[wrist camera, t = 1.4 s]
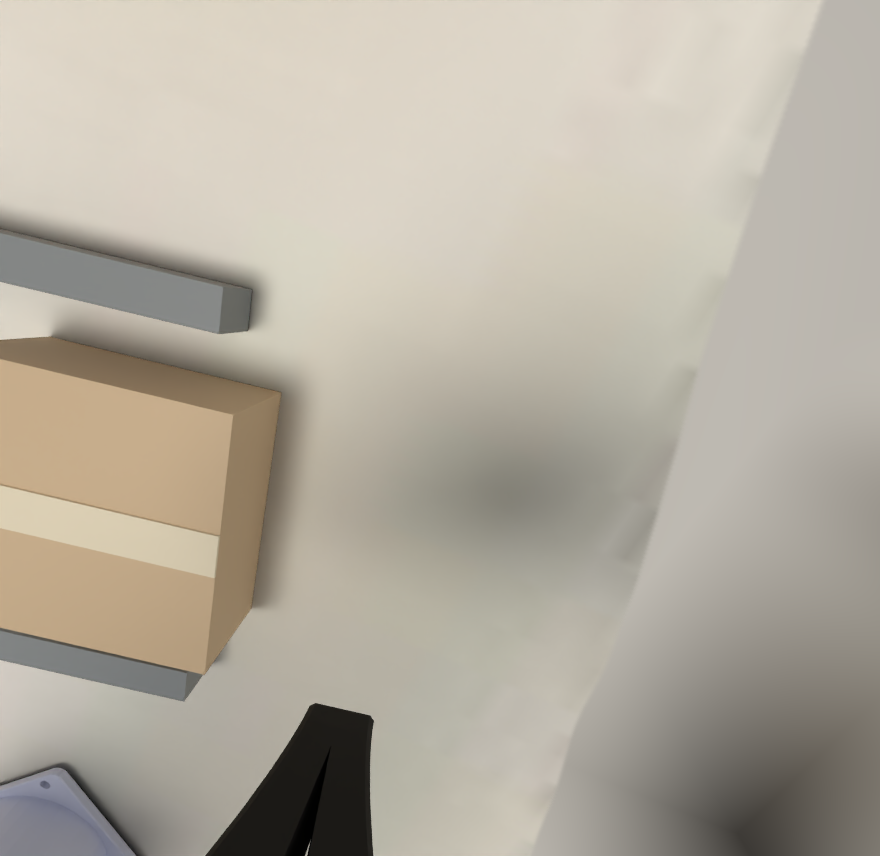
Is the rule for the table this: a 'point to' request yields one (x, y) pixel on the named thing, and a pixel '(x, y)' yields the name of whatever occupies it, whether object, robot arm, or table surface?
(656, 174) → the table surface
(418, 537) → the table surface
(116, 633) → the carton
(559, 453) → the table surface
